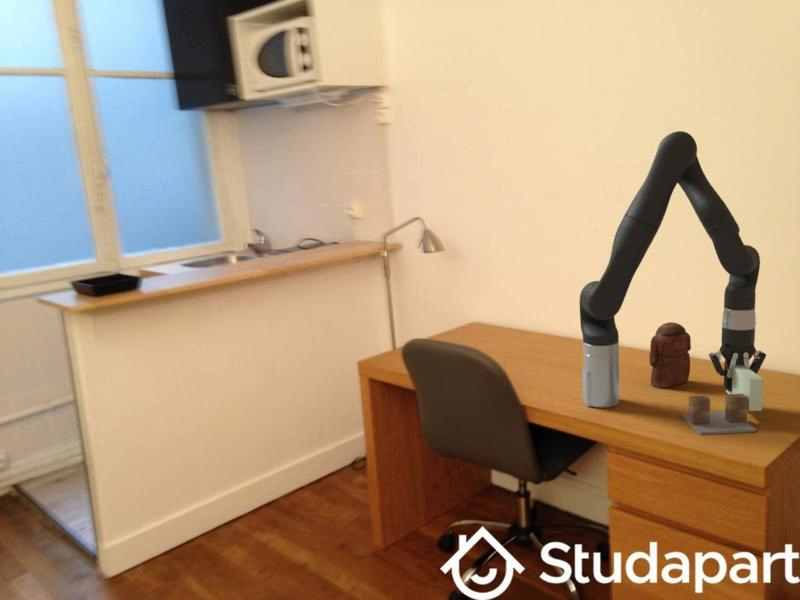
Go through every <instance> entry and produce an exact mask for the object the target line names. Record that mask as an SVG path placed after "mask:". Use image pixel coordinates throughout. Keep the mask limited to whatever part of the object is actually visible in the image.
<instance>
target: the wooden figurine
mask: <svg viewBox="0 0 800 600" xmlns="http://www.w3.org/2000/svg"><path fill="white" fill-rule="evenodd" d="M691 339H692V338H691V335H690V334H689V333H688V332H687V331H686V328H685V327H684V326H683V325H681V324H680V323H677V322H673V321H671V322H666V323H662V324H661V325H660V326H659V327H657V330H656V332H655V334H654V335H653V336H652V338H651V339H650V345H649V346H650V348H649V349H650V350H649V351H650V352H649V365H650V366H651V367H652V368H651V375H650V385H651V386H652V387H656V388H661V389H663V388H670V387H671V388H672V387H675V386H677V385H683V384H686V383H688V381H689V379H690V372H691V356H690V353H689V352H690V351H691V349H692V344H691V343H692V342H691V341H692V340H691Z"/></svg>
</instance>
